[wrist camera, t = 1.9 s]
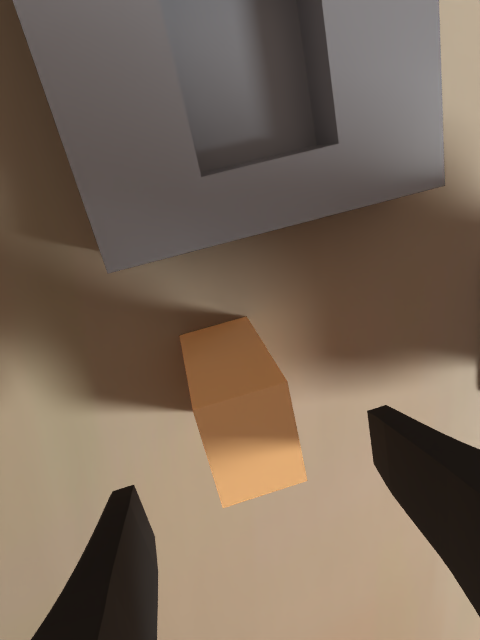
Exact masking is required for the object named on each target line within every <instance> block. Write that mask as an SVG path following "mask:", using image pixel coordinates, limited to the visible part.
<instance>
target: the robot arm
mask: <svg viewBox="0 0 480 640" xmlns="http://www.w3.org/2000/svg"><path fill="white" fill-rule="evenodd" d="M367 413H368V421H369V429H370V437H371V445H372V453H373V462H374V465H375V467H376V468H377V470H378V472H379V473H380V475H381V477H382V479H383V480H384V482H385V484H386V485H387V487H388V489H389V490H390V492H391V493H392V495H393V496H394V497H395V499H396V500H397V501H398V503H399V504H400V505H401V507H402V508H403V509H404V510H405V512H406V513H407V514H408V516H409V517H410V518H411V520H412V521H413V522H414V523H415V525H416V526H417V527H418V529H419V530H420V531H421V532H422V534H423V535H424V536H425V538H426V539H427V540H428V541H429V543H430V544H431V545H432V547H433V548H434V549H435V550H436V552H437V553H438V554H439V556H440V557H441V558H442V560H443V561H444V562H445V564H446V565H447V567H448V568H449V569H450V571H451V572H452V574H453V575H454V577H455V579H456V580H457V582H458V583H459V585H460V586H461V588H462V590H463V591H464V593H465V594H466V596H467V597H468V599H469V601H470V602H471V604H472V605H473V607H474V609H475V610H476V612H477V613H478V615H479V617H480V449H477V448H475V447H472V446H470V445H467V444H465V443H463V442H460V441H458V440H456V439H454V438H452V437H449V436H447V435H445V434H443V433H441V432H439V431H437V430H435V429H433V428H431V427H429V426H426V425H424V424H422V423H421V422H419V421H417V420H415V419H413V418H411V417H409V416H407V415H405V414H403V413H401V412H399V411H397V410H395V409H393V408H391V407H389V406H387V405H385V406H381V407H378V408H375V409H372V410H369V411H367ZM157 610H158V566H157V554H156V545H155V536H154V533H153V531H152V528H151V526H150V523H149V521H148V518H147V516H146V513H145V511H144V508H143V506H142V503H141V501H140V499H139V496H138V494H137V491H136V489H135V486H134V485H131V486H128V487H125V488H122V489H119V490H116V491H113V492H112V494H111V495H110V497H109V500H108V502H107V504H106V506H105V508H104V511H103V513H102V515H101V517H100V519H99V522H98V524H97V526H96V528H95V530H94V532H93V534H92V536H91V538H90V540H89V542H88V544H87V546H86V548H85V550H84V552H83V554H82V556H81V558H80V560H79V562H78V564H77V566H76V568H75V569H74V571H73V573H72V575H71V576H70V578H69V580H68V582H67V584H66V585H65V587H64V589H63V591H62V592H61V594H60V596H59V597H58V599H57V601H56V602H55V604H54V606H53V607H52V609H51V610H50V612H49V614H48V615H47V617H46V618H45V620H44V621H43V623H42V624H41V626H40V627H39V629H38V630H37V632H36V633H35V635H34V636H33V637H32V639H31V640H157Z"/></svg>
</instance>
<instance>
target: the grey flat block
mask: <svg viewBox="0 0 480 640" xmlns="http://www.w3.org/2000/svg"><path fill="white" fill-rule="evenodd" d="M13 3H14V6H15V9H16V12H17V14H18V17H19V20H20V23H21V26H22V29H23V32H24V35H25V37H26V40H27V43H28V46H29V49H30V52H31V55H32V58H33V60H34V63H35V66H36V69H37V72H38V75H39V78H40V81H41V83H42V86H43V89H44V92H45V95H46V98H47V101H48V104H49V106H50V109H51V112H52V115H53V118H54V121H55V124H56V126H57V129H58V132H59V135H60V138H61V141H62V144H63V147H64V149H65V152H66V155H67V158H68V161H69V164H70V167H71V170H72V172H73V175H74V178H75V181H76V184H77V187H78V190H79V193H80V195H81V198H82V201H83V204H84V207H85V210H86V213H87V216H88V218H89V221H90V224H91V227H92V230H93V233H94V236H95V238H96V241H97V244H98V247H99V250H100V253H101V256H102V259H103V261H104V264H105V267H106V270H107V273H112V272H116V271H120V270H123V269H127V268H131V267H135V266H139V265H143V264H146V263H150V262H154V261H158V260H162V259H166V258H169V257H173V256H177V255H181V254H185V253H189V252H192V251H196V250H200V249H204V248H208V247H212V246H215V245H219V244H223V243H227V242H231V241H235V240H238V239H242V238H246V237H250V236H254V235H258V234H261V233H265V232H269V231H273V230H277V229H281V228H284V227H288V226H292V225H296V224H300V223H304V222H307V221H311V220H315V219H319V218H323V217H327V216H330V215H334V214H338V213H342V212H346V211H350V210H353V209H357V208H361V207H365V206H369V205H373V204H376V203H380V202H384V201H388V200H392V199H396V198H399V197H403V196H407V195H411V194H415V193H419V192H422V191H426V190H430V189H434V188H438V187H442V186H445V172H444V141H443V110H442V79H441V49H440V18H439V0H13Z"/></svg>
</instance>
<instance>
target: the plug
mask: <svg viewBox="0 0 480 640" xmlns="http://www.w3.org/2000/svg"><path fill="white" fill-rule="evenodd" d="M179 336H180V342H181V348H182V353H183V359H184V364H185V370H186V376H187V381H188V387H189V392H190V398H191V404H192V409H193V413H194V416H195V419H196V422H197V426H198V429H199V432H200V435H201V439H202V442H203V445H204V448H205V452H206V455H207V458H208V461H209V465H210V468H211V471H212V474H213V478H214V481H215V484H216V487H217V491H218V494H219V497H220V500H221V504H222V507H223V508H225V507H228V506H231V505H234V504H237V503H241V502H244V501H247V500H250V499H253V498H256V497H259V496H262V495H265V494H268V493H271V492H274V491H277V490H280V489H283V488H287V487H290V486H293V485H296V484H299V483H302V482H305V481H307V477H306V472H305V467H304V462H303V457H302V452H301V447H300V442H299V437H298V432H297V427H296V422H295V417H294V412H293V407H292V402H291V397H290V392H289V387H288V382H287V380H286V379H285V377H284V376H283V374H282V372H281V371H280V369H279V368H278V366H277V364H276V363H275V361H274V360H273V358H272V356H271V355H270V353H269V352H268V350H267V348H266V347H265V345H264V344H263V342H262V340H261V339H260V337H259V336H258V334H257V332H256V331H255V329H254V328H253V326H252V324H251V323H250V321H249V320H248V318H247V316H246V317H243V318H239V319H236V320H232V321H228V322H225V323H221V324H218V325H214V326H211V327H207V328H204V329H200V330H196V331H193V332H189V333H186V334H182V335H179Z"/></svg>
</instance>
